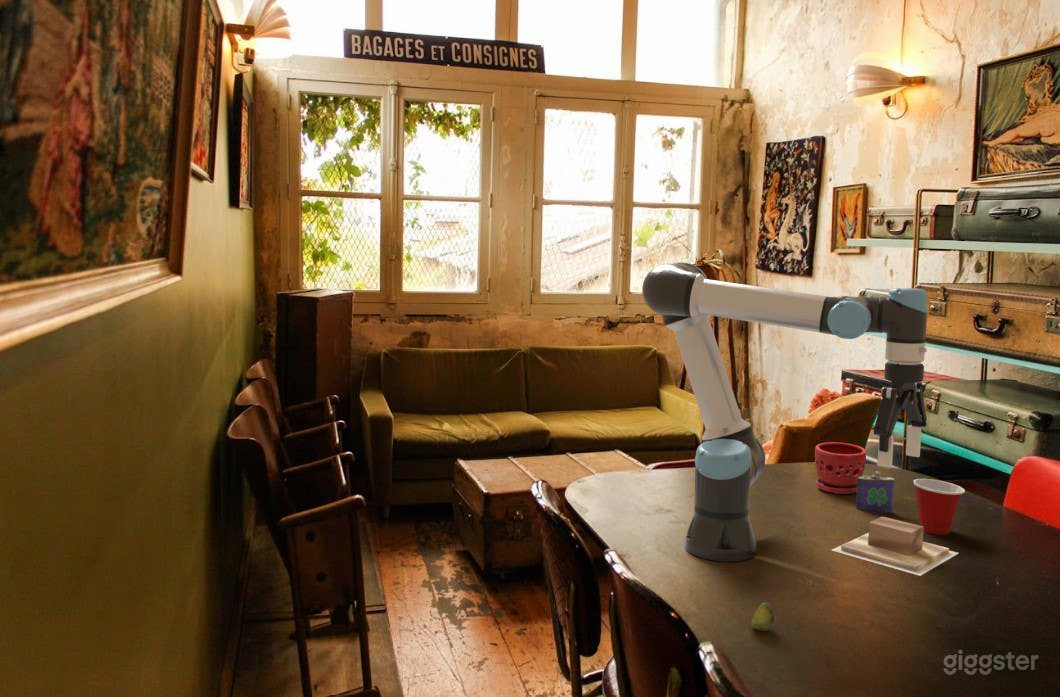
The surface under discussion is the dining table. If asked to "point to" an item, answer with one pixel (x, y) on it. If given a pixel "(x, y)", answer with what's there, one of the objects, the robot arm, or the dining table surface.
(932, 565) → the mat
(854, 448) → the plant pot
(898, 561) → the lid
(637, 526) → the dining table surface
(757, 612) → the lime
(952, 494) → the plastic cup
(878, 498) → the flask
